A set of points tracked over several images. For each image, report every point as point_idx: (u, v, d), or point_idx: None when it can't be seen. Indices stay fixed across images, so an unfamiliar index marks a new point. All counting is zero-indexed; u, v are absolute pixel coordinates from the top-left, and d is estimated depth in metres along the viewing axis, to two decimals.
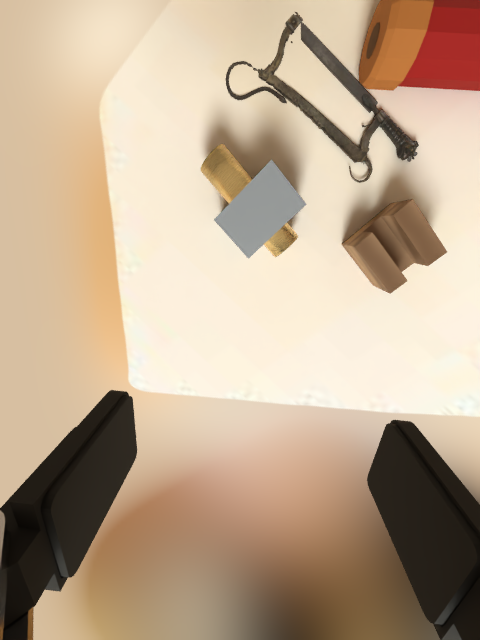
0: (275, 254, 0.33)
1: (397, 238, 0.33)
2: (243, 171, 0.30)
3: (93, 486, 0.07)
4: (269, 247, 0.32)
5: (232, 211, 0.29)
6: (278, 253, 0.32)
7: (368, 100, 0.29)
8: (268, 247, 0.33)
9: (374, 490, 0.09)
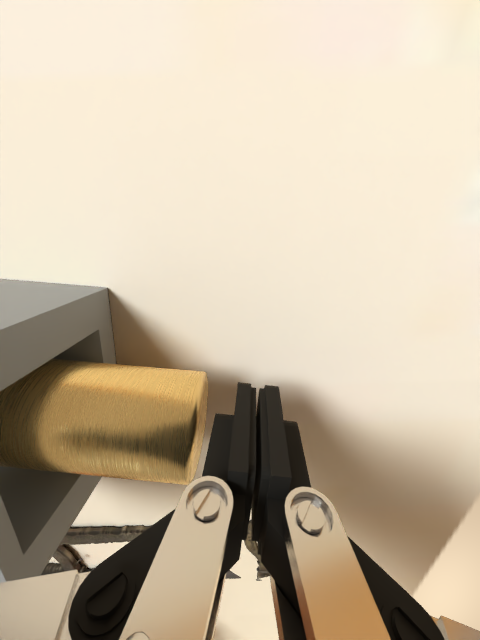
0: None
1: None
2: None
3: None
4: None
5: None
6: None
7: None
8: None
9: None
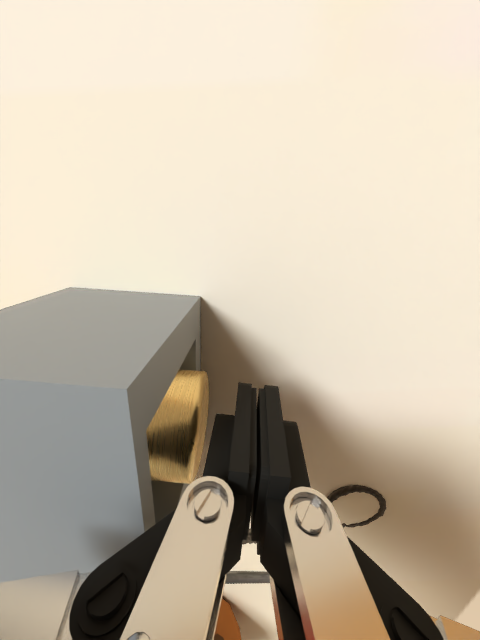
0: None
1: None
2: None
3: None
4: None
5: (99, 469, 0.06)
6: None
7: None
8: None
9: None
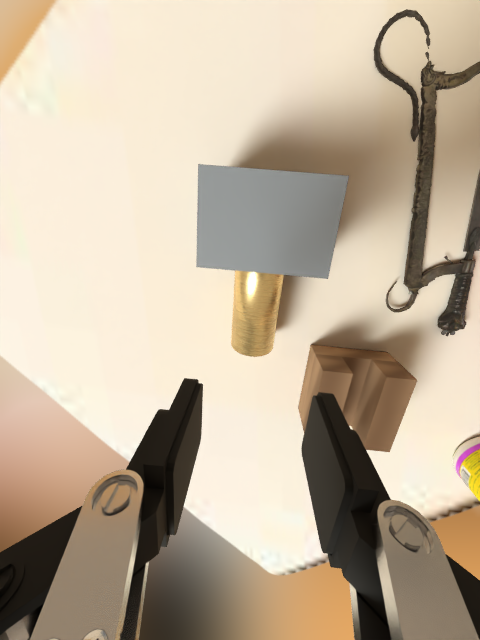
0: (233, 345, 0.23)
1: (362, 393, 0.25)
2: None
3: (186, 459, 0.08)
4: (234, 334, 0.22)
5: (234, 183, 0.15)
6: (236, 349, 0.22)
7: (476, 238, 0.21)
8: (233, 332, 0.22)
9: (304, 456, 0.10)
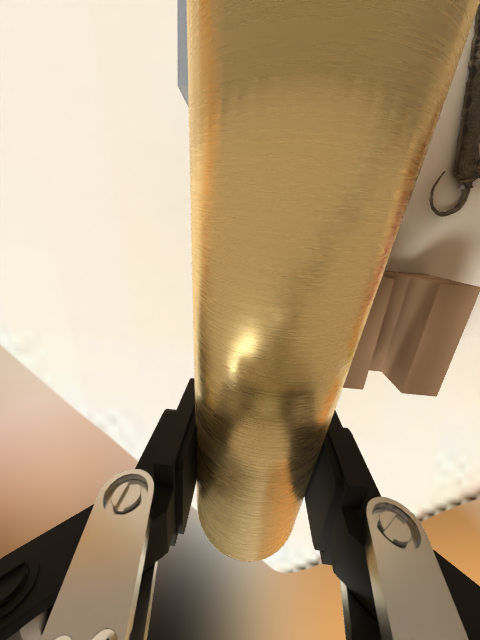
0: (199, 516, 0.09)
1: (397, 324, 0.19)
2: (387, 259, 0.04)
3: (193, 459, 0.08)
4: (199, 499, 0.09)
5: None
6: (207, 534, 0.09)
7: None
8: (198, 491, 0.09)
9: None
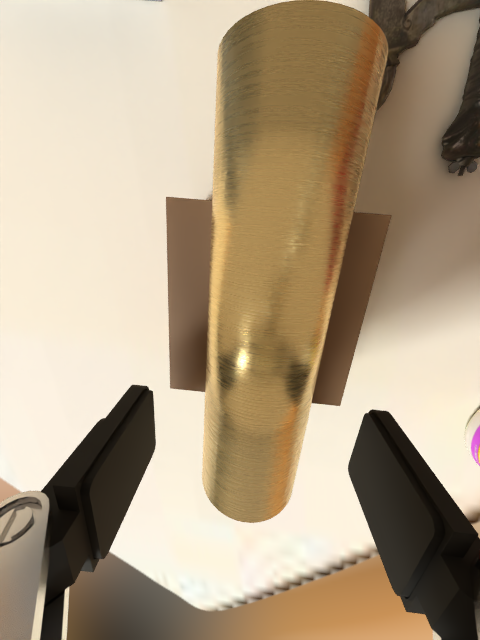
0: (205, 484, 0.10)
1: None
2: (345, 235, 0.06)
3: (121, 474, 0.07)
4: (205, 462, 0.10)
5: None
6: (211, 499, 0.10)
7: None
8: (204, 456, 0.10)
9: (353, 477, 0.09)
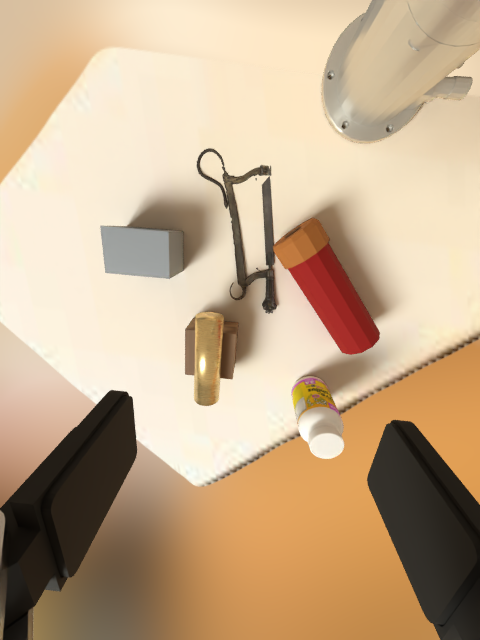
0: (194, 398, 0.39)
1: None
2: (218, 344, 0.36)
3: (93, 486, 0.07)
4: (194, 392, 0.39)
5: (117, 234, 0.32)
6: (196, 401, 0.39)
7: (270, 258, 0.38)
8: (194, 391, 0.39)
9: (374, 490, 0.09)
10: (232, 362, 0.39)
